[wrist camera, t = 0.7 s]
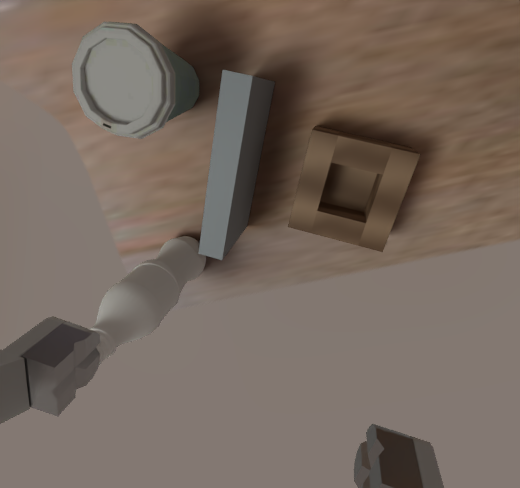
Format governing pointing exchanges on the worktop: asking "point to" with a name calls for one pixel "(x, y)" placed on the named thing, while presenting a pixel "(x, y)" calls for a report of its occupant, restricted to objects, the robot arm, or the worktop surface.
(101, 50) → the disposable coffee cup
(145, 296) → the water bottle
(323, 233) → the socket block
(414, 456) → the robot arm
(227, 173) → the wall
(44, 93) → the worktop surface
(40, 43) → the worktop surface
